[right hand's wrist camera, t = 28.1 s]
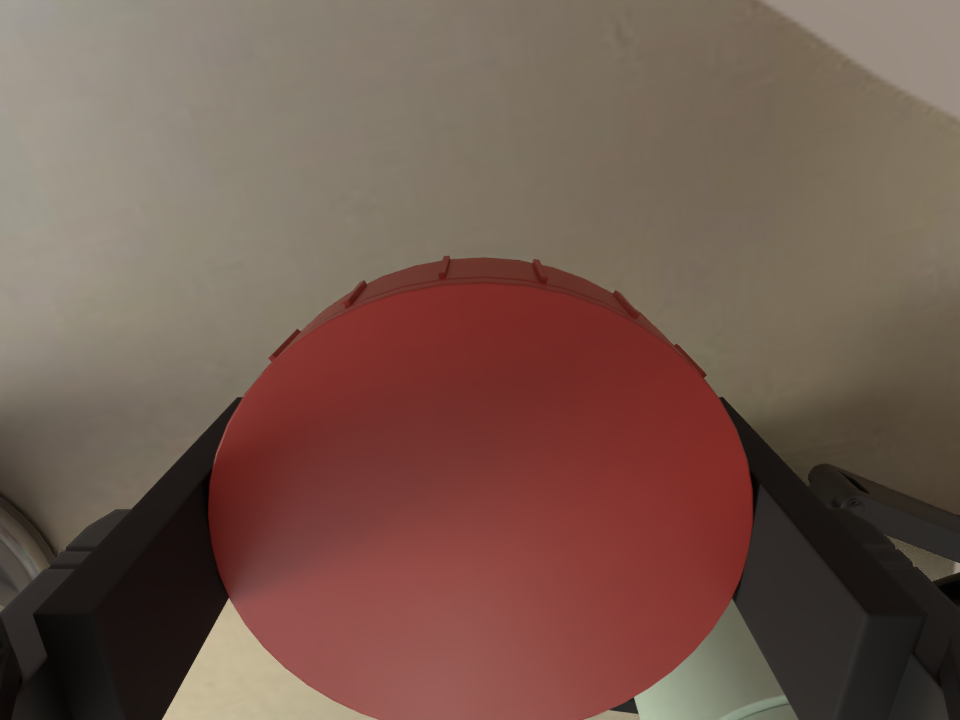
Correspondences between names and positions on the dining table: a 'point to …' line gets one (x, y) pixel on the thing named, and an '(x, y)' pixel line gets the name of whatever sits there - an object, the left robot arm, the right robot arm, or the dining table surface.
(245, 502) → the lid
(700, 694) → the jar
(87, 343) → the dining table surface
